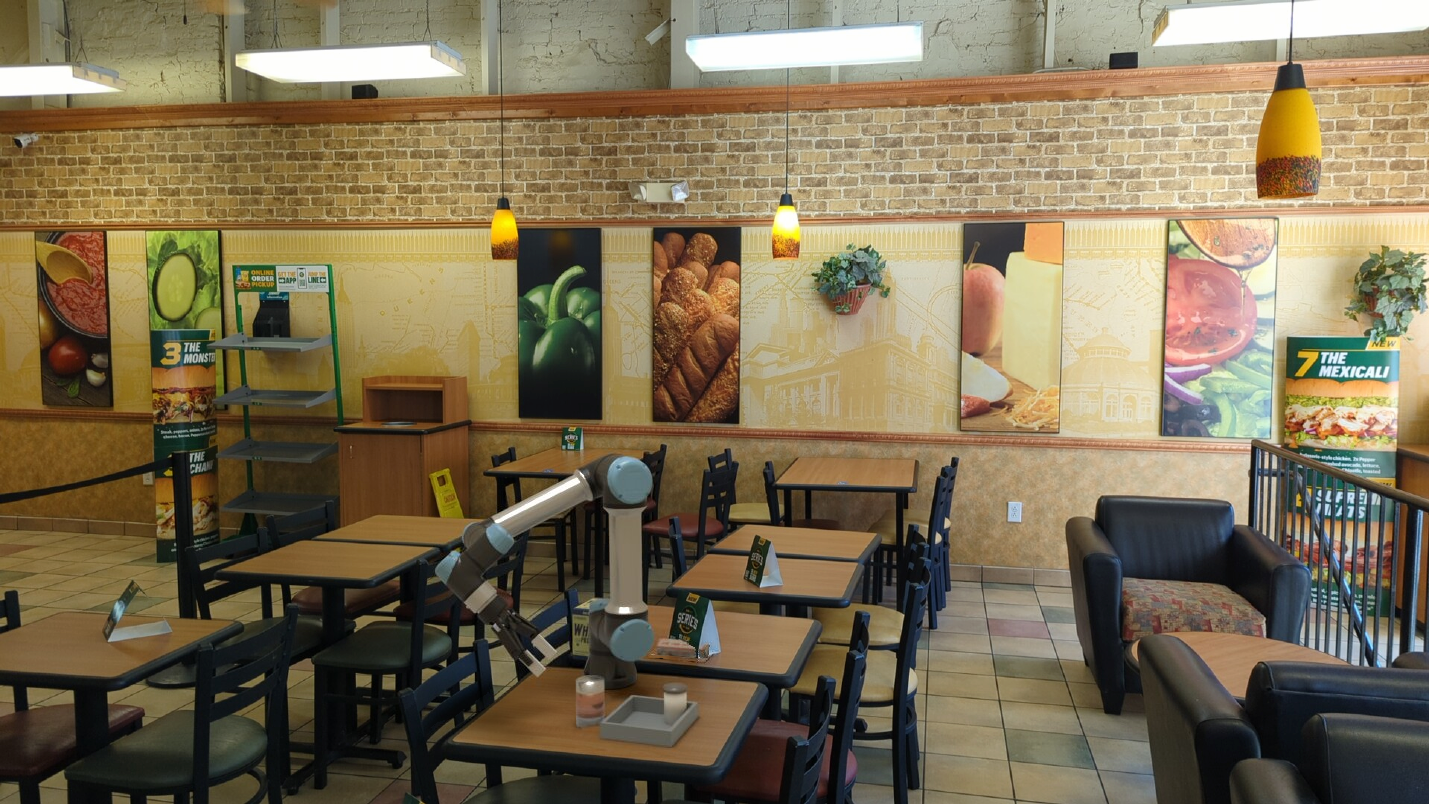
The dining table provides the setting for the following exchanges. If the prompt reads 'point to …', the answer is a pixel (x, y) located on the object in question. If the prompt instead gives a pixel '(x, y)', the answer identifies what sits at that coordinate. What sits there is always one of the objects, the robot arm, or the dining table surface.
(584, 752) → the dining table surface
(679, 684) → the cup lid
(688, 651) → the packaged product
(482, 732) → the dining table surface
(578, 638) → the protein box
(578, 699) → the clear orange banded jar
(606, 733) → the grey tray
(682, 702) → the capped white cylinder
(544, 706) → the dining table surface
